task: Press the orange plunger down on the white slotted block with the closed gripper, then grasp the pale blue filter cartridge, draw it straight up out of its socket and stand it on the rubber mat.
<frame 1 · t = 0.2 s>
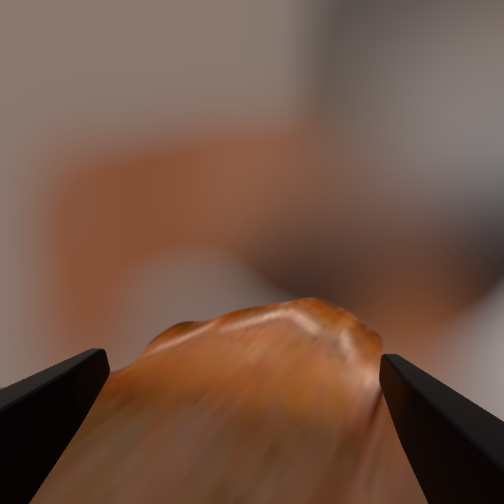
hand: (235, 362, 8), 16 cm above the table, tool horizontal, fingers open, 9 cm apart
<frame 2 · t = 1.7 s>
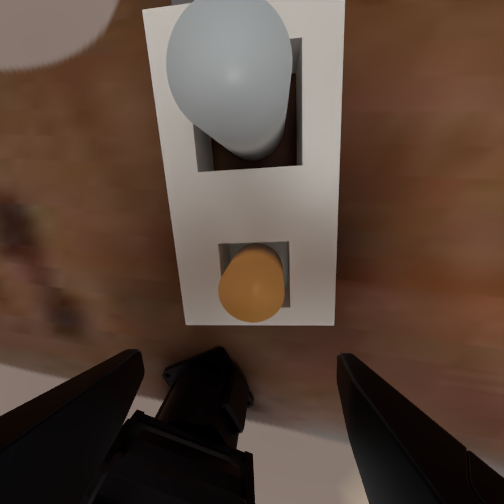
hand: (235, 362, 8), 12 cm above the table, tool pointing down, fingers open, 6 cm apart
plunger: (254, 279, 15), point 5 cm above the table, slide at 0.0 cm
white slotted block: (255, 186, 18), on the table
filter cartridge: (252, 127, 17), resting in white slotted block
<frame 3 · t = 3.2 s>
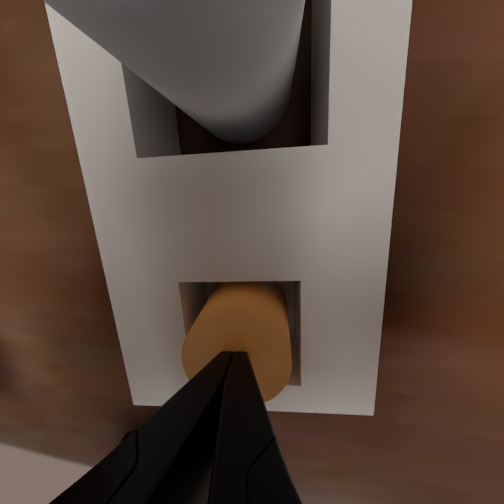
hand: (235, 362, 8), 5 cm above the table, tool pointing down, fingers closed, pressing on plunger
plunger: (243, 327, 10), point 3 cm above the table, slide at 1.1 cm, touching gripper
white slotted block: (245, 185, 12), on the table
filter cartridge: (240, 89, 11), resting in white slotted block
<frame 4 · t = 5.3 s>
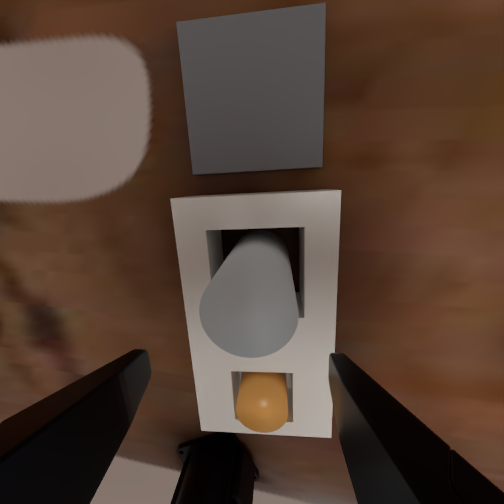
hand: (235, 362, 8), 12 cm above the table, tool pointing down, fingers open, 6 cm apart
plunger: (263, 389, 19), point 3 cm above the table, slide at 1.3 cm
white slotted block: (262, 303, 20), on the table
filter cartridge: (260, 257, 19), resting in white slotted block
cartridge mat: (253, 101, 17), on the table
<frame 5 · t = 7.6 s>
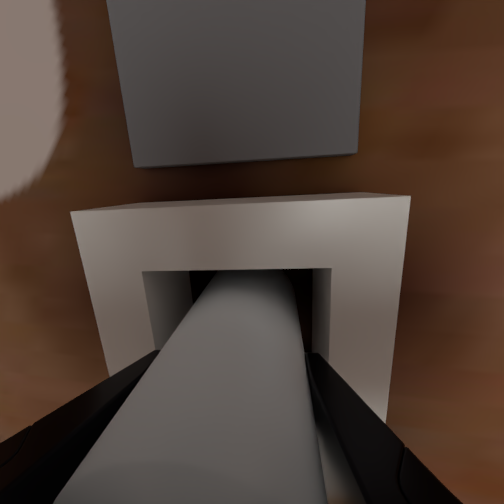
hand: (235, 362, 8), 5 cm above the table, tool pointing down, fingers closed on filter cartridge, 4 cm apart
white slotted block: (254, 367, 13), on the table
filter cartridge: (250, 299, 12), resting in white slotted block, touching gripper
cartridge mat: (235, 38, 9), on the table
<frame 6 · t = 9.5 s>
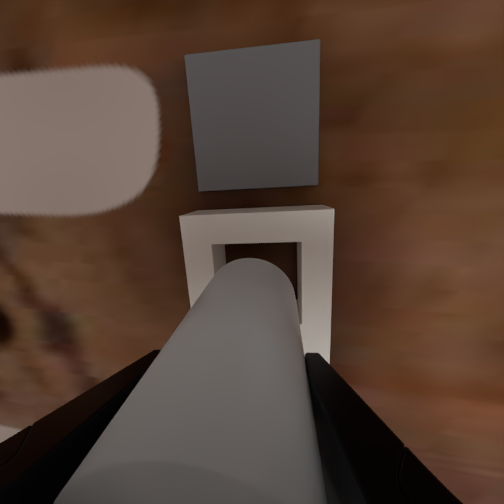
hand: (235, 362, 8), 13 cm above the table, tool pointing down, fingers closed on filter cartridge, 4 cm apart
white slotted block: (263, 309, 22), on the table
filter cartridge: (250, 300, 12), point 9 cm above the table, touching gripper
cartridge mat: (254, 125, 18), on the table
when the fingers open (7 cm above the table, at t = 11.5 s): filter cartridge drops 2 cm, resting on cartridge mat.
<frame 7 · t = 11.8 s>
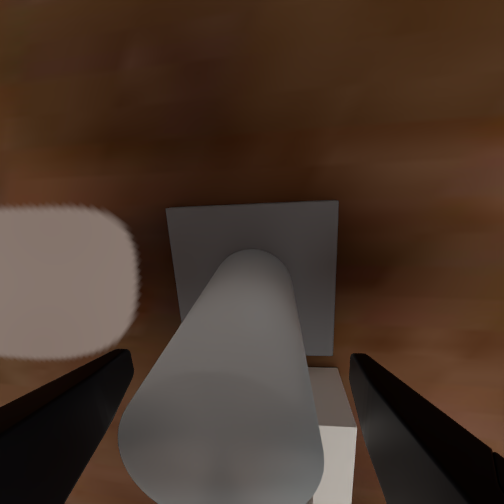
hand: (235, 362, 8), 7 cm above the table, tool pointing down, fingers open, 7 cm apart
white slotted block: (264, 467, 19), on the table
filter cartridge: (252, 286, 14), point 1 cm above the table, touching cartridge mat
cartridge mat: (254, 280, 15), on the table
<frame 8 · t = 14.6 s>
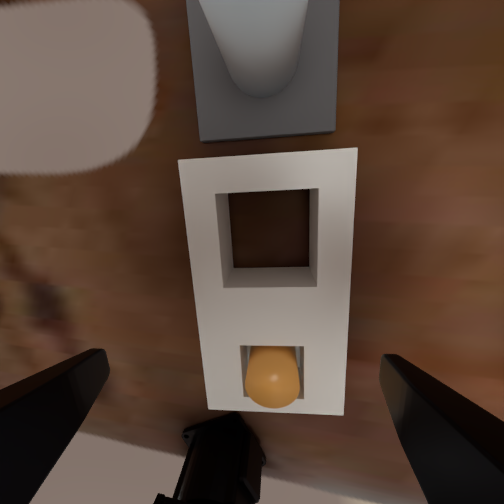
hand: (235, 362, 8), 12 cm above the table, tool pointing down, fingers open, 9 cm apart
plunger: (272, 365, 18), point 3 cm above the table, slide at 1.3 cm
white slotted block: (271, 279, 20), on the table
filter cartridge: (262, 57, 15), point 1 cm above the table, touching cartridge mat
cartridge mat: (263, 63, 16), on the table
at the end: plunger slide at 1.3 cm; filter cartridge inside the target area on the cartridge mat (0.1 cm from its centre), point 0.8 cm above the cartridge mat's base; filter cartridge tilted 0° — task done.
